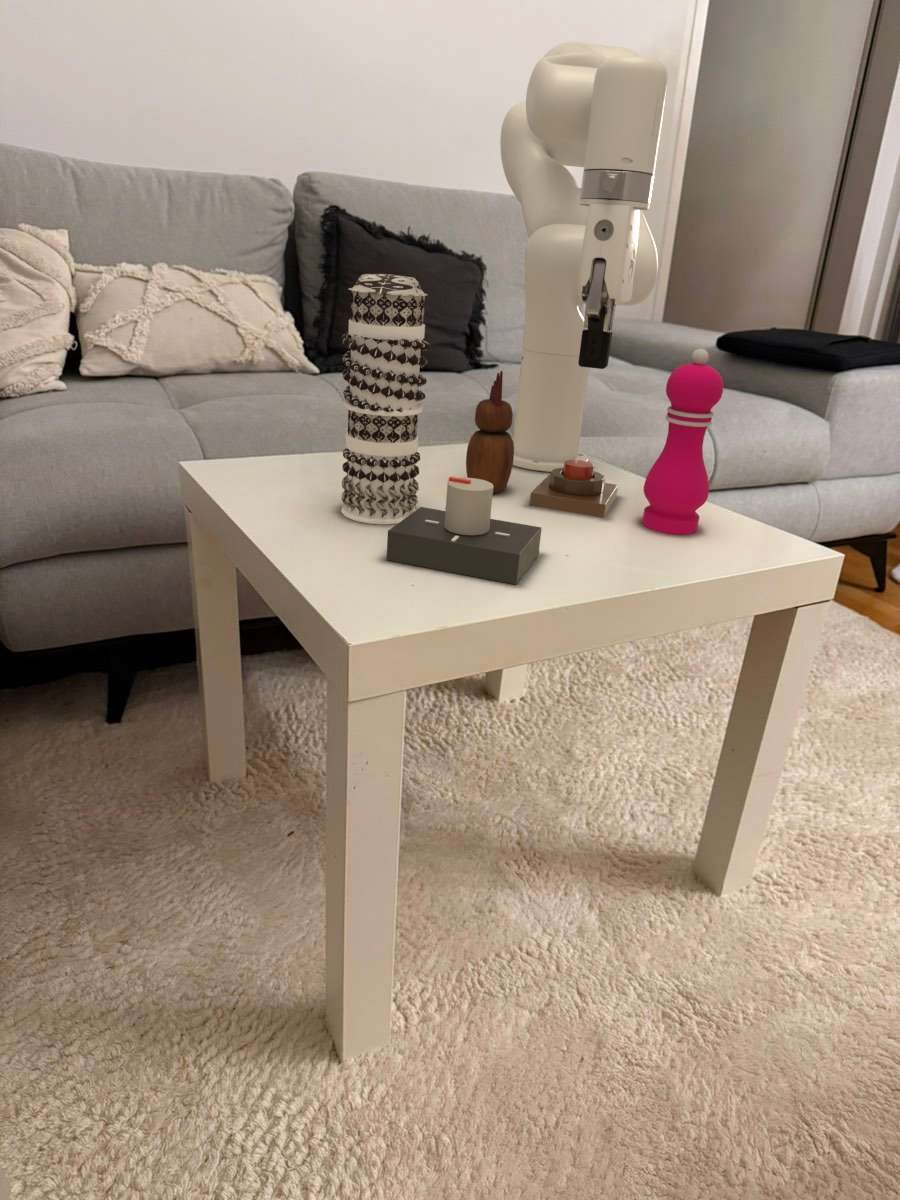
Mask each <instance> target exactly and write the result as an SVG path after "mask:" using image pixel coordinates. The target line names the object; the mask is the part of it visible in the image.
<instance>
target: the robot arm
mask: <svg viewBox="0 0 900 1200" xmlns="http://www.w3.org/2000/svg"><path fill="white" fill-rule="evenodd" d="M668 81H669V73H668V69H667V67H666V66H665V64H664V63H663V62H662V61H660V60H658V59H656V58H652V57H648V56H640V55H639V54H638V53H637V52H636V51H635V50H633V49H632V48H627V47H624V46H623V47H622V46H621V47H620V46H613V45H603V44H593V43H583V42H576V41H574V42H570V41H569V42H562V43H560V44H557V45H555V46H553V47H552V48H551V49H549V50H548V51H547V52H546V53H545V54H544V56H543V57H542V58H540V59H539V60H538V61H537V63H536V64H535V66H534V67H533V70H532V71H531V75H530V77H529V81H528V84H527V87H526V95H525V100H524V101H521V102H518V103H516V104H515V105H513V106H512V107H511V108H510V109H509V110H508V111H507V112H506V114H505V115H504V118H503V122H502V125H501V129H500V139H499V141H500V142H499V144H500V145H499V146H500V158H501V163H502V169H503V172H504V176H505V179H506V181H507V183H508V186H509V188H510V189H511V191H512V193H513V195H514V196H515V198H516V200H518V202H519V204H520V205H521V210H522V215H523V220H524V224H525V228H526V233H527V237H528V241H527V243H526V247H525V252H524V287H525V311H524V312H525V313H524V326H523V327H524V328H523V336H522V338H523V339H522V348H521V349H522V350H521V358H520V370H519V378H518V388H517V398H516V408H515V415H514V425H513V426H514V427H513V436H512V440H513V444H514V459H513V466H515V467H517V468H521V469H526V470H532V471H538V472H546V473H547V472H549V473H550V472H551V471H552V470H553V469H557V468H563V467H564V462H565V461H567V460H582V461H587V462H589V458H588V456H587V455H586V454H584V453H582V452H580V451H579V449H580V443H581V434H582V427H583V418H584V411H585V405H586V404H585V403H586V398H587V397H586V396H587V390H588V388H587V387H588V382H589V374H590V369H598V370H604V369H606V368H607V367H608V366H609V360H610V354H611V353H610V352H611V347H612V345H611V344H612V340H613V339H612V338H613V326H614V325H613V324H614V319H615V312H616V307H617V306H625V307H626V306H634V305H635V306H636V305H639V304H640V303H642V302H643V301H645V300H647V299H648V297H649V296H650V295H651V293H652V292H653V290H654V288H655V285H656V282H657V278H658V272H659V259H658V251H657V246H656V243H655V240H654V237H653V234H652V231H651V229H650V226H649V223H648V222H647V219H646V216H645V214H644V211H649V210H650V206H651V200H652V199H651V198H652V191H653V185H654V179H655V171H656V164H657V157H658V150H659V144H660V137H661V130H662V124H663V117H664V112H665V111H664V109H665V104H666V96H667V90H668ZM565 166H566V167H565ZM567 167H577V168H578V167H579V168H583V171H582V180H581V187H578V183H577V181H576V179H575V177H574V175H573V174H572V173H571V172H570V170H569V169H567ZM582 304H584V305H585V310H584V316H583V314H582V312H581V311H580V309H579V305H582Z"/></svg>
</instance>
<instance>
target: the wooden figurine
mask: <svg viewBox="0 0 900 1200" xmlns="http://www.w3.org/2000/svg"><path fill="white" fill-rule="evenodd" d="M503 375H504V373H503V370H500V372H497V373H496V379H495V380H493V385H491V388H490V393H489V397H488V398H486V399H482V400H480V401H479V402H478V404H477V405H476V408H475V413H474V424H475V426H476V427H477V429H478V430H476V431H474V433H473V434H472V435H471V437H470V439H469V441H468V444H467V449H466V455H465V456H466V457H465V472H466V478H475V479H481V480H485V481H488V482H490V483H492V484H493V494H496V493H500V492H502V491H503V490H505V489H506V488H507V486H508V483H509V481H510V478H511V474H512V470H513V466H514V465H513V459H514V444H513V437H512V435H511V434H510V433H509V432H507V431H508V430H510V429H511V427H512V425H513V417H514V414H513V408H512V405H511V404H510V403H509V402H507V401H506V400H503Z"/></svg>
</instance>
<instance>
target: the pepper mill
mask: <svg viewBox="0 0 900 1200" xmlns="http://www.w3.org/2000/svg"><path fill="white" fill-rule="evenodd" d="M709 357H710V355H709V353H708V351H707V350H706V349H704V348H698V349H696V350H694V351H693V352H692V354H691V362H692V363H691V362H690V363H686V364H683V365H680V366H678V367H676V368H675V369H674V370H673V371H672V372H671V374H670V375H669V377H668V379H667V381H666V386H665V393H666V397H667V398H668V400H669V402H670V406H668V407H667V408H666V411H667V413H666V415H665V420H666V421H667V422H668V429H667V436H666V439H665V444H664V446H663V448H662V451H661V453H660V454H659V456H658V458H657V459H656V460H655V462H654V463H653V465H652V466H651V468H650V469H649V471H648V472H647V475H646V477H645V481H644V485H643V489H642V490H643V494H644V497H645V499H646V501H648V503H649V505H647V506H645V507H644V509H643V514H642V515H643V516H642V520H641V521H642V525H643V526H644V527H645V528H647V529H649V530H652V531H654V532H658V533H663V534H668V535H675V536H676V535H678V536H685V535H692V534H694V533H696V532H697V530H698V527H699V521H700V515H699V514H698V512H697V510H698V509H700V508H701V507H703V505H705V503H706V502H707V501H708V498H709V490H710V483H709V475H708V473H707V472H708V471H707V469H706V465H705V461H704V450H703V449H704V448H703V446H704V441H705V440H704V439H705V435H706V432H707V429H708V427H710V426H711V425H712V424H713V421H712V419H713V416H714V412H713V411H711V410H712V409H713V408H714V406H716V405H717V404H718V403H719V401H720V400H721V399H722V396H723V394H724V381H723V378H722V376H721V373H720V372H719V371H718V370H716V369H715V368H714V367H713V366H710V365H707V362H708V361H709V359H710V358H709Z"/></svg>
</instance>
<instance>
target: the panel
mask: <svg viewBox="0 0 900 1200" xmlns="http://www.w3.org/2000/svg"><path fill="white" fill-rule="evenodd" d="M445 511H446V510H441V509H436V508H432V507H431V508H430V507H425V506H420V507H418V508H417V509H416V511H414V512H413V513H412V514H410V515H409V516H408V517H406V518H405V519H403V520H402V521H401V522H399V523H396V524H395V525H394V526H392V527H391V528H390V529H388V530H387V541H386V561H389V562H396V563H401V564H406V565H410V566H417V567H421V568H428V569H432V570H437V571H442V572H447V573H454V574H457V575H464V576H470V577H474V578H479V579H483V580H484V579H485V580H490V581H495V582H501V583H506V584H510V585H517V584H518V583H519V581H520V580H521V579H522V577H524V575H525V574H526V572H527V571H528V570H529V568H530V567H531V565H532V564H533V563H534V562H535V560H536V559H537V558H538V556H539V553H540V546H541V537H542V527H540V526H537V525H536V526H535V525H530V524H523V523H517V522H511V521H507V520H500V519H494V518H490V528H489V531H488V532H487V533H485V534H482V535H474V536H470V535H460V534H456V533H452V532H450V531H448V530H446V529H445V527H444V525H445Z"/></svg>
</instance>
